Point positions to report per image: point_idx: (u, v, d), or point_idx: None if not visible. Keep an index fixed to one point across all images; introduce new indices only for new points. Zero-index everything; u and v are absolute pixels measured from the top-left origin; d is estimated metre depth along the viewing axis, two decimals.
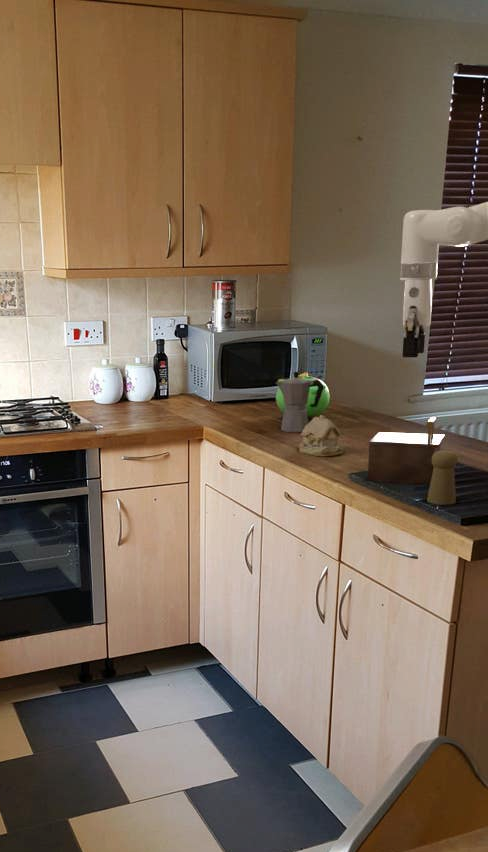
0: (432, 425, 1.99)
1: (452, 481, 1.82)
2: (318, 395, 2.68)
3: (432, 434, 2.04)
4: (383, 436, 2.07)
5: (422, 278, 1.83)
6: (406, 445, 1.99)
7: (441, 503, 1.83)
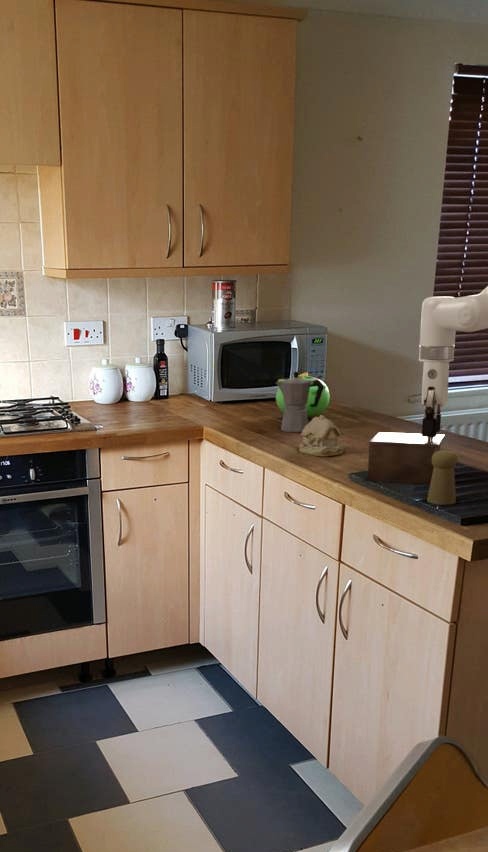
0: None
1: (452, 481, 1.82)
2: (318, 395, 2.68)
3: None
4: (383, 436, 2.07)
5: (440, 360, 1.93)
6: (406, 445, 1.99)
7: (441, 503, 1.83)
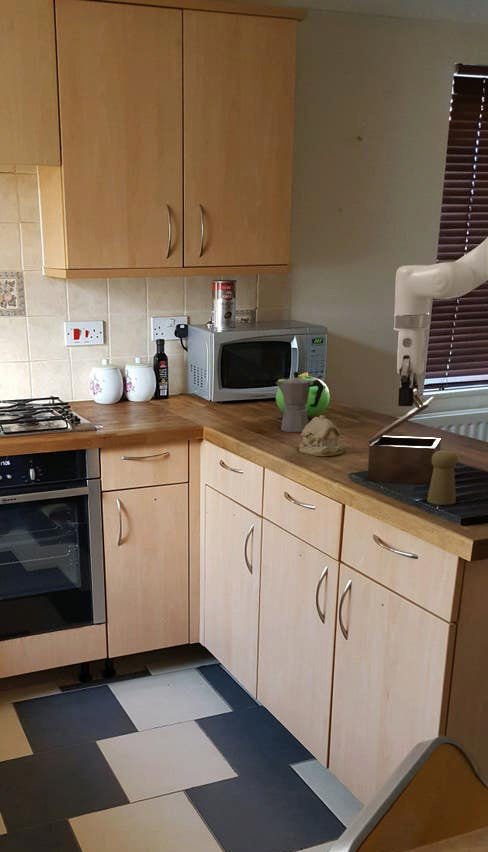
0: None
1: (452, 481, 1.82)
2: (318, 395, 2.68)
3: (420, 401, 2.03)
4: (381, 431, 2.07)
5: (414, 329, 1.93)
6: (400, 423, 1.98)
7: (441, 503, 1.83)
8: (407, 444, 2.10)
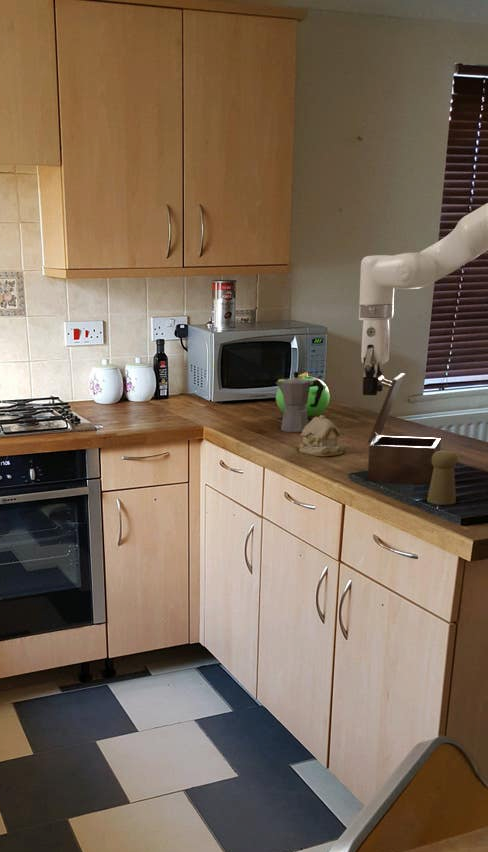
0: None
1: (452, 481, 1.82)
2: (318, 395, 2.68)
3: None
4: None
5: (378, 318, 1.95)
6: (383, 409, 1.98)
7: (441, 503, 1.83)
8: (407, 444, 2.10)
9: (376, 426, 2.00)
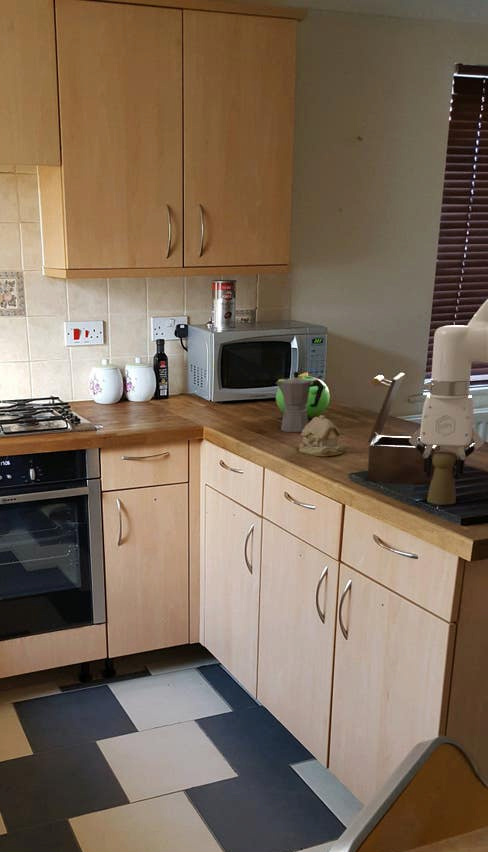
0: (376, 379, 2.00)
1: (452, 481, 1.82)
2: (318, 395, 2.68)
3: None
4: None
5: (430, 395, 1.78)
6: (383, 409, 1.98)
7: (441, 503, 1.83)
8: (407, 444, 2.10)
9: (376, 426, 2.00)
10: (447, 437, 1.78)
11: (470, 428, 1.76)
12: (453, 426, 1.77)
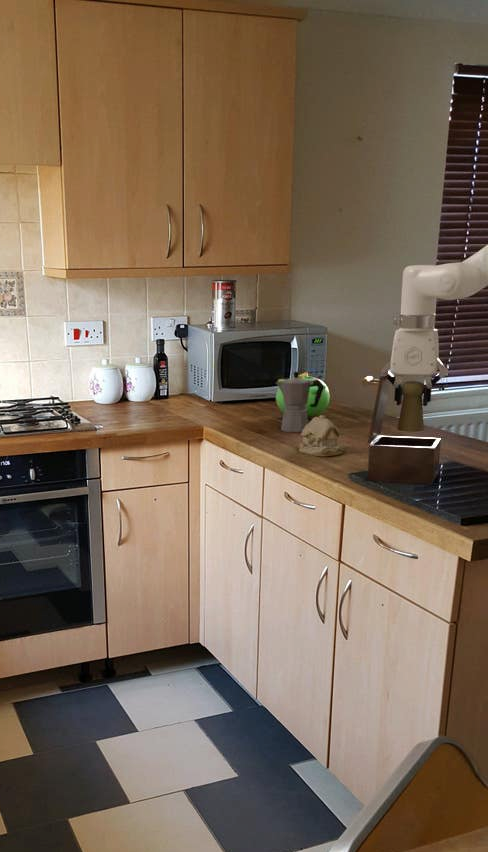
0: (365, 380, 2.01)
1: (420, 408, 2.00)
2: (318, 395, 2.68)
3: None
4: None
5: (400, 329, 1.96)
6: (376, 407, 1.99)
7: (410, 429, 2.01)
8: (407, 444, 2.10)
9: (373, 425, 2.01)
10: (415, 367, 1.96)
11: (435, 358, 1.94)
12: (420, 357, 1.95)
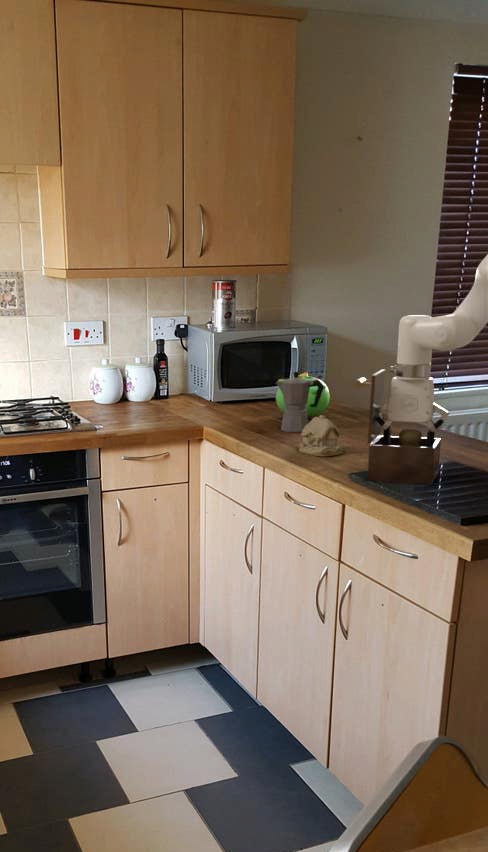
0: (358, 381, 2.02)
1: None
2: (318, 395, 2.68)
3: None
4: None
5: (396, 377, 2.00)
6: (372, 406, 1.99)
7: None
8: None
9: (370, 425, 2.01)
10: (410, 415, 2.00)
11: (431, 407, 1.98)
12: (416, 405, 1.99)
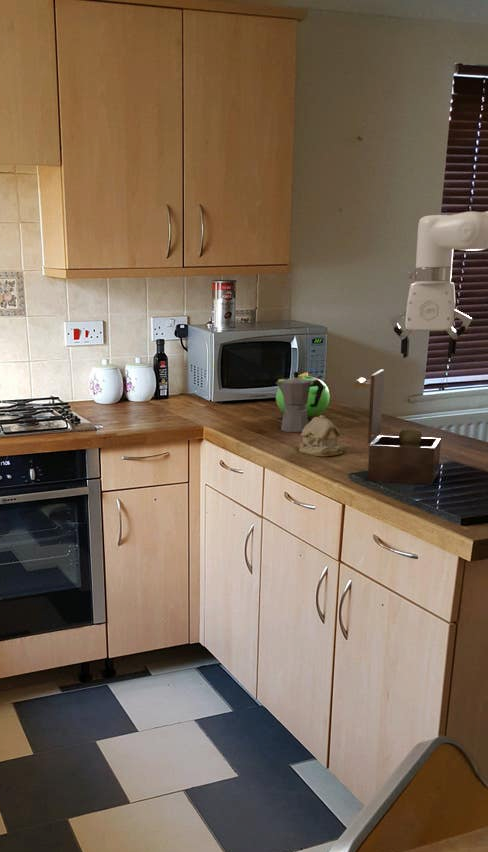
0: (357, 381, 2.02)
1: None
2: (318, 395, 2.68)
3: None
4: None
5: (415, 282, 1.90)
6: (371, 406, 1.99)
7: None
8: None
9: (370, 425, 2.01)
10: (430, 322, 1.90)
11: (452, 312, 1.88)
12: (436, 311, 1.89)
